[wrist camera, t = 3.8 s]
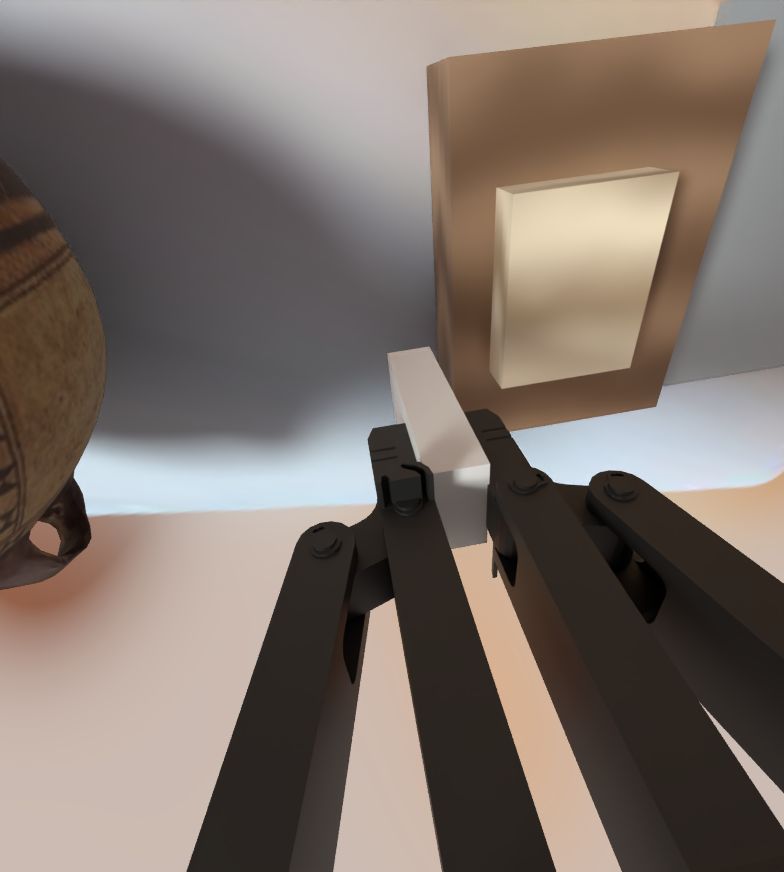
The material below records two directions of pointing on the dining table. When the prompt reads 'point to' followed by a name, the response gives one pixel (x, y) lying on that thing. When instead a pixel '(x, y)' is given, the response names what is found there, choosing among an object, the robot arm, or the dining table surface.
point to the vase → (43, 386)
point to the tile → (574, 272)
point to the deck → (572, 157)
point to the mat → (743, 235)
